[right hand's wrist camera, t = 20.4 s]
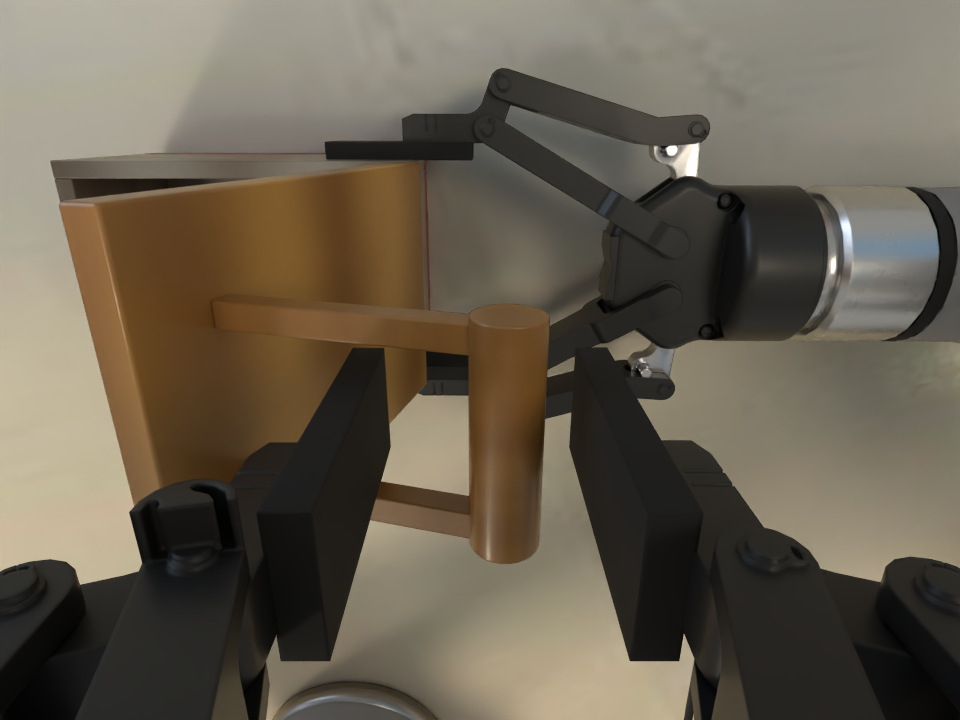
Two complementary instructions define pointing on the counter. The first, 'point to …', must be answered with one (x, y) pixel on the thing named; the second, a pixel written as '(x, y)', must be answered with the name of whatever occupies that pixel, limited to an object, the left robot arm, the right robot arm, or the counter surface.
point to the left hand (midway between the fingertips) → (342, 263)
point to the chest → (205, 176)
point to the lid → (299, 336)
